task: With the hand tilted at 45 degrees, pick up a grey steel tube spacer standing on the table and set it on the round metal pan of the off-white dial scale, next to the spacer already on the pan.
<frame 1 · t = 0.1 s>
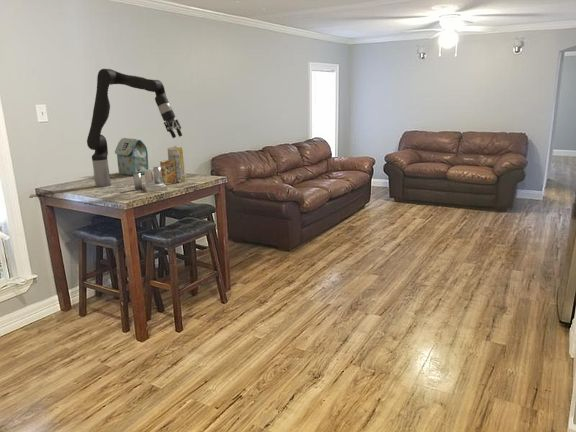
hand: (177, 136, 275), 31 cm above the table, tool tilted 20°, fingers open, 8 cm apart
spacer c: (152, 185, 290), on the table
spacer b: (138, 189, 279), on the table
juice carton: (178, 181, 303), on the table
candy box: (169, 184, 295), on the table
lunch bag: (133, 174, 339), on the table
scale: (154, 188, 280), on the table
spacer a: (158, 183, 280), point 3 cm above the table, touching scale
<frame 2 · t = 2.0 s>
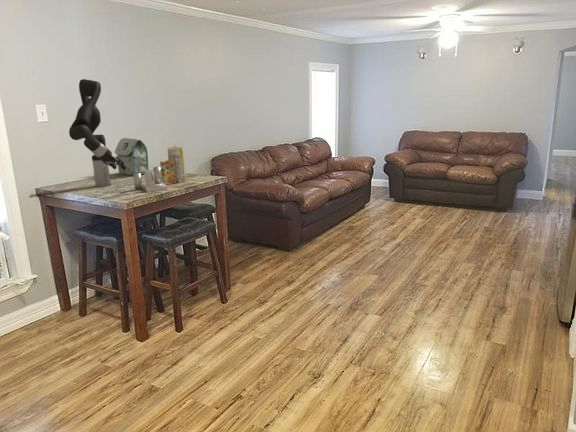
hand: (120, 168, 266), 15 cm above the table, tool tilted 45°, fingers open, 8 cm apart
nothing on the table moved.
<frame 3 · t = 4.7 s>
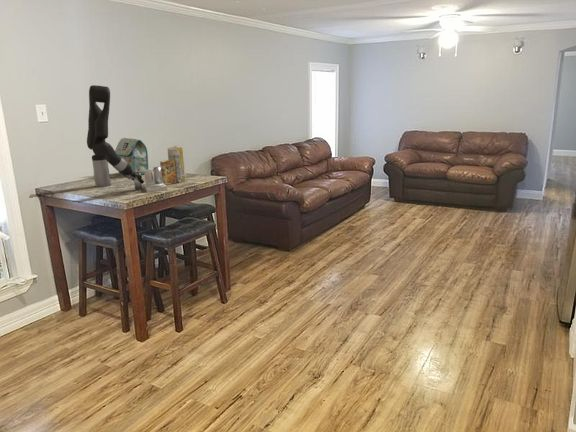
hand: (140, 182, 280), 4 cm above the table, tool tilted 45°, fingers closed on spacer b, 4 cm apart
spacer b: (138, 189, 279), on the table, touching gripper
everything else where it was.
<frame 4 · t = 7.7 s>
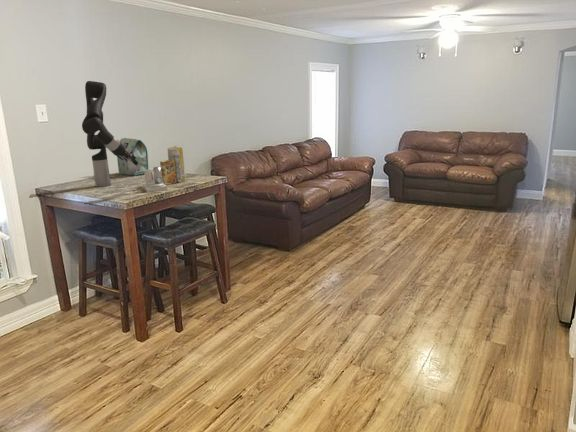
hand: (134, 163, 263), 18 cm above the table, tool tilted 45°, fingers closed on spacer b, 4 cm apart
spacer b: (132, 171, 262), point 14 cm above the table, touching gripper
everything else where it was.
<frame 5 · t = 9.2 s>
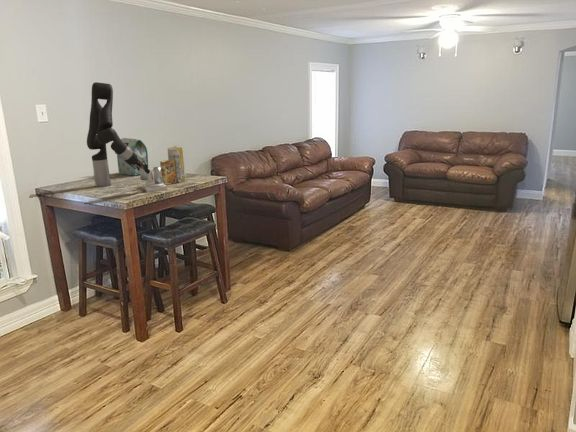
hand: (146, 172, 271), 12 cm above the table, tool tilted 45°, fingers closed on spacer b, 4 cm apart
spacer b: (144, 179, 270), point 7 cm above the table, touching gripper
everything else where it was.
when the fingers open (8 cm above the table, at t = 10.7 s): spacer b stays where it is, resting on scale.
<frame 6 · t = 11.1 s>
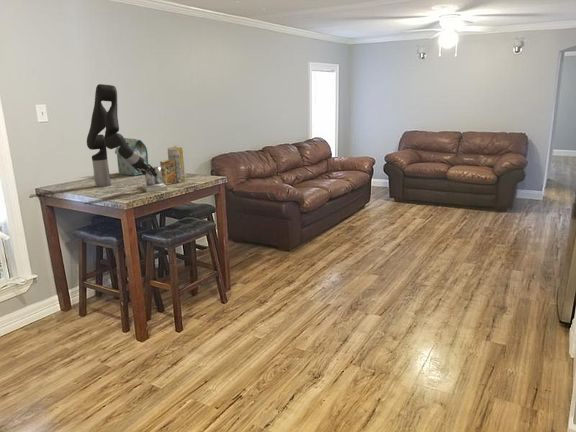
hand: (151, 175, 274), 9 cm above the table, tool tilted 45°, fingers open, 8 cm apart
spacer b: (150, 185, 275), point 3 cm above the table, touching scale
everything else where it was.
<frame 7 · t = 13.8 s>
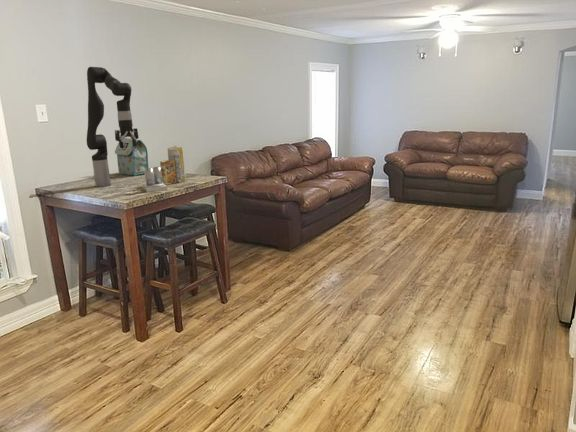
hand: (128, 147, 262), 27 cm above the table, tool pointing down, fingers open, 8 cm apart
nothing on the table moved.
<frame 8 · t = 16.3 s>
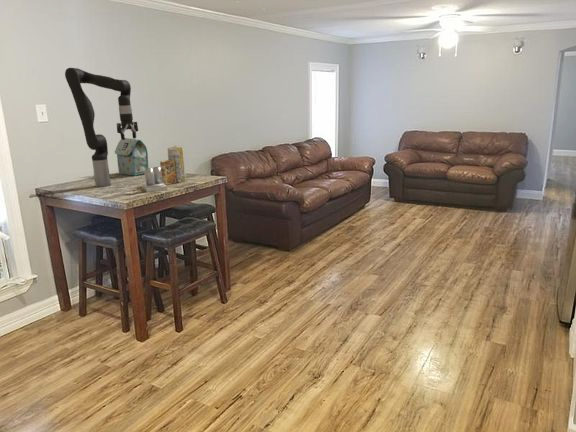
hand: (128, 139, 285), 30 cm above the table, tool pointing down, fingers open, 8 cm apart
nothing on the table moved.
at the end: spacer b inside the target area on the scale (3.1 cm from its centre), point 3.4 cm above the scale's base; spacer b tilted 0°; spacer a inside the target area on the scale (3.0 cm from its centre), point 3.4 cm above the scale's base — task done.
